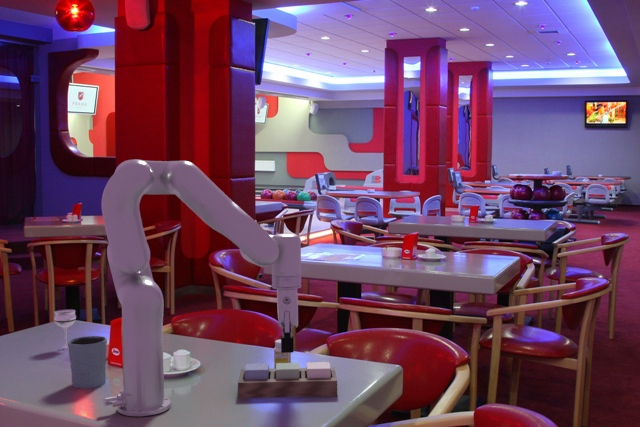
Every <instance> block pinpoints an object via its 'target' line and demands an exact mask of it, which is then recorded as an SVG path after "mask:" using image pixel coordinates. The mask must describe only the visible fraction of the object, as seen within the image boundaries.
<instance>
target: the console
mask: <svg viewBox="0 0 640 427" xmlns="http://www.w3.org/2000/svg"><path fill="white" fill-rule="evenodd" d="M330 368H331V378H307V367H299V379H276V369H274V368H269V379H253V380H245V371H244V370H245V368H243V369H242V368H241V369H240V373H239V376H238V381H237V398H238V399H257V398H258V399H268V398H269V399H272V398H316V397H315V396H323V397H338V378H337V374H336V369H335V367H334V366H333V367H331V366H330Z"/></svg>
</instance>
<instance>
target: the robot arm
mask: <svg viewBox="0 0 640 427" xmlns="http://www.w3.org/2000/svg"><path fill="white" fill-rule="evenodd" d="M144 195H175V196H176V197H177V198H178V199H180V201H181V202H182V203H184V204H185V205H186V206H187V207H188V208H189V209H190V210H191V211H192V212H193V213H194V214H195V215H197V217H198V218H200V220H202V222H204V223H205V225H207V226H209V227H210V228H211V229H212V230H214V231H216V232H217V233H219V234H221V235H223V237H225V238H227V239H228V240H230V241H231V242H232V244H234V245H235V246H237V247H238V248H239V253H240V255H241V257H242V258H243V259H244V260H245V261H247V262H249V263H251V264H253V265H256V266H258V267H261V268H267V267H270V266H271V288H272V289H274V290H276V303H277V304H276V306H277V319H278V320H277V321H278V327H280V328H281V336H280V339H281V352H282V353H291V354H292V353H294V351H295V350H294V349H295V347H294V346H295V344H294V341H295V340H294V335H293V328H294V327H295V328H298V327H299V294H298V289H301V288H302V244H301V241H302V240H301V237H300V235H298V234H295V233H278V234H274V235H273V234H269V233H268V232H267V231H266V229H264V228H263V227H262V226H261V225H260V224H259V223H258V222H257V221H256V220H255V219H253V218H252V217H251V215H249V214H248V213H247V212H245V211H244V210H243V209H242V208H241V207H240V206H239V205H238V204H237V203H235V202H234V201H233V200H232V199H231V198H230V197H228V195H227V194H225V192H224V191H223V190H221V188H219V186H217V185H216V184H215V182H213V181H212V180H211V179H210V178H209V177H208V176H207V174H205V173H204V172H203V171H202V170H201V169H200V168H199V167H198V166H197V165H195V164H194V163H193V162H191V161H188V160H169V161H167V160H165V161H162V160H143V159H136V158H135V159H128V160H127V159H126V160H124V161H123V162H121V163H119V164H118V166H117V167H116V169H115V171H114V173H113V175H111V176H110V178H109V179H108V181H107V183H106V185H105V187H104V190H103V192H102V197H101V203H100V204H101V213H102V219H103V223H104V229H105V233H106V237H107V243H108V244H107V248H106V255H107V261H108V264H109V270H110V272H111V275H112V276H111V277H112V281H113V284H114V289H115V292H116V296H117V299H118V301H119V303H120V306H121V343H122V344H121V346H122V347H121V348H122V376H123V377H122V378H123V379H122V380H123V389H120V390H119V393H118V394H116V395H115V396H108V397H103V400H102V401H103V406H104V407H107V406H108V407H109V406H111V407H112V408H115V407H116V408H117V412H118V413H119V414H121V415H123V416H129V417H149V416H155V415H158V414H162V413H164V412H166V411H167V410H169V409H170V408H171V406H172V400H171V399H169V398H168V397H166V396H165V379H164V378H165V377H164V376H165V373H164V339H163V338H164V332H163V329H164V328H163V326H164V325H163V323H164V307H165V306H164V303H165V302H164V295H163V292H162V290H161V288H160V286H159V285H158V284H157V283H156V282H155V280H154V278H153V273H152V269H151V266H150V260H151V250H150V247H149V244H148V242H147V238H146V235H145V234H146V233H145V230H144V226H143V220H142V217H141V211H140V203H141V200H142V197H143V196H144Z"/></svg>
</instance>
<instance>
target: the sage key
mask: <svg viewBox="0 0 640 427" xmlns="http://www.w3.org/2000/svg"><path fill="white" fill-rule="evenodd" d="M299 368H300V362H291V363H276V379H299Z"/></svg>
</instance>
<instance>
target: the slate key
mask: <svg viewBox="0 0 640 427" xmlns="http://www.w3.org/2000/svg"><path fill="white" fill-rule="evenodd" d="M244 369H245V370H244V371H245V380H253V379H269V369H270V364H269V363H268V362H267V363H264V362H262V363H245V368H244Z"/></svg>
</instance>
